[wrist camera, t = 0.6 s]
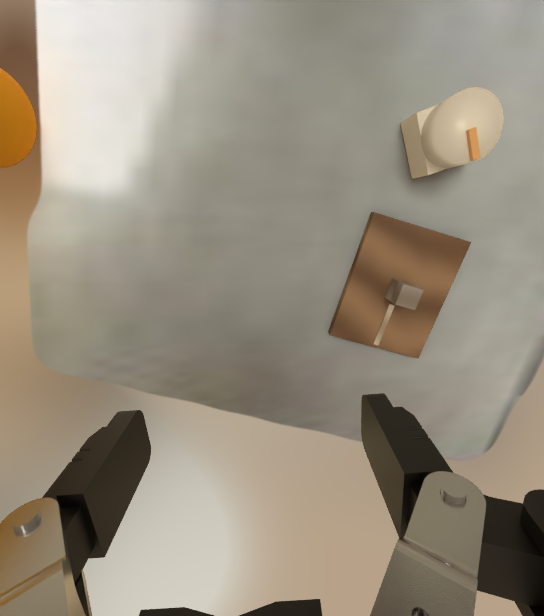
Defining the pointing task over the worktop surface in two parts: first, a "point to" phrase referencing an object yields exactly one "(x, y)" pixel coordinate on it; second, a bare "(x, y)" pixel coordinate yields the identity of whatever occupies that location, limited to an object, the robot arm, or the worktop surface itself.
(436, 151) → the knob
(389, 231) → the plate
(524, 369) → the worktop surface
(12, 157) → the beer bottle
